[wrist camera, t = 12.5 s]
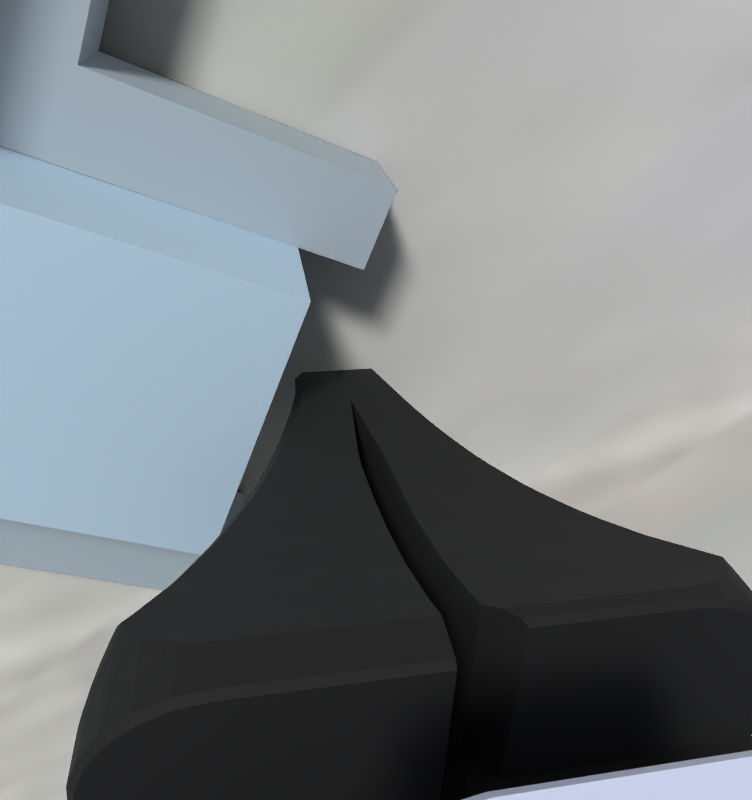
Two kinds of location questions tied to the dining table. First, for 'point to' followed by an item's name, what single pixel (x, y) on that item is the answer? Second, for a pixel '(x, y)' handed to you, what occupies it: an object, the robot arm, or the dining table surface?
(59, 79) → the jig
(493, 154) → the dining table surface
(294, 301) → the light blue bar
